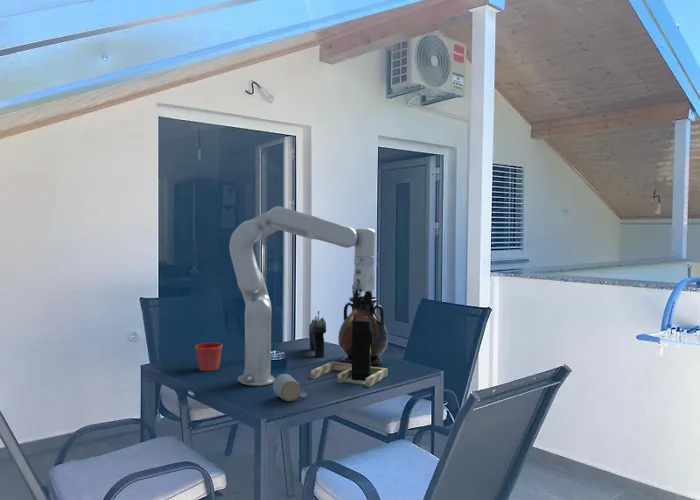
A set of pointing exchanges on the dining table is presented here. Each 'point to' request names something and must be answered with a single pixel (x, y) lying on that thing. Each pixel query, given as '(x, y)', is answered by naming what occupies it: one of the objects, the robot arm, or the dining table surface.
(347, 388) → the dining table surface
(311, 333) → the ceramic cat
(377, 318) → the amphora vase
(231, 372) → the dining table surface
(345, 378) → the slot rack
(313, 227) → the robot arm
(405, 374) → the dining table surface
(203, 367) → the flower pot
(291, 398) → the ceramic mug
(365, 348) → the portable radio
